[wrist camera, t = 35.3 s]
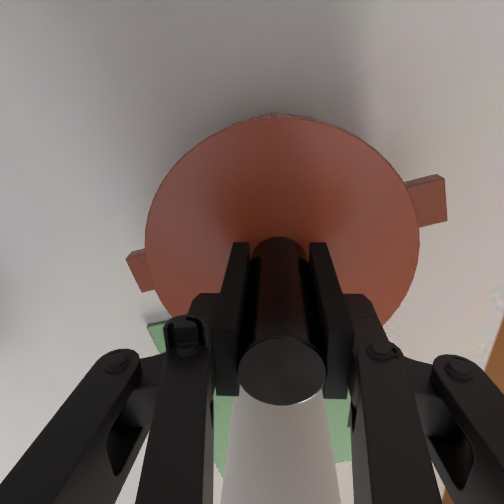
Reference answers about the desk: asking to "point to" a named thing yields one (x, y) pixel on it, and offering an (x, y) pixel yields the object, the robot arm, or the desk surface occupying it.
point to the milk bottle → (279, 454)
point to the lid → (282, 239)
